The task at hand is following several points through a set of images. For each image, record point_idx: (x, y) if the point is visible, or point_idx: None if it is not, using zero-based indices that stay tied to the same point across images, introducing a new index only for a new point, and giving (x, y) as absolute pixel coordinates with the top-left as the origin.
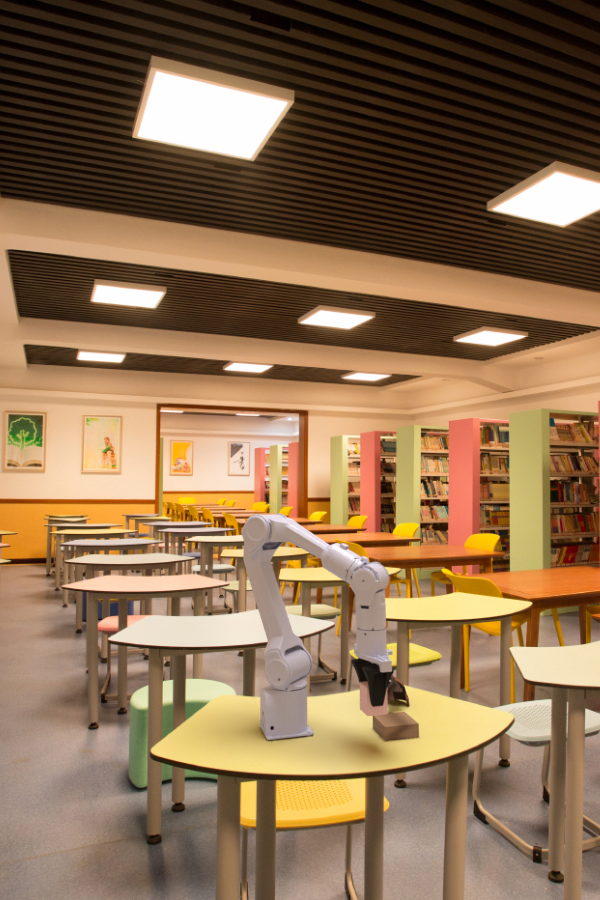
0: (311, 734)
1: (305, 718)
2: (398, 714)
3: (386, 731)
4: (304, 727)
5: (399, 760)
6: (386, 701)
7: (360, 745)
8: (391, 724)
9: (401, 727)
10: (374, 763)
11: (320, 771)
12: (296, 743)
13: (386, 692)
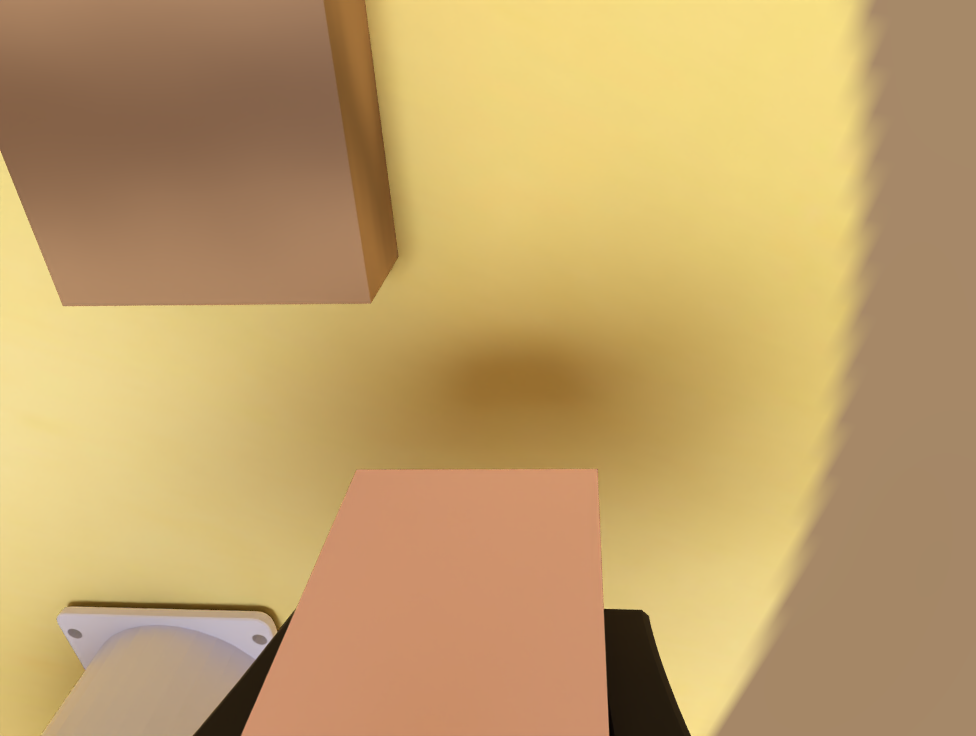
0: (272, 624)
1: (201, 706)
2: (25, 49)
3: (379, 274)
4: (233, 668)
5: (770, 278)
6: (601, 587)
7: (445, 433)
8: (313, 225)
9: (352, 132)
10: (746, 442)
11: (728, 683)
12: None
13: (603, 694)
